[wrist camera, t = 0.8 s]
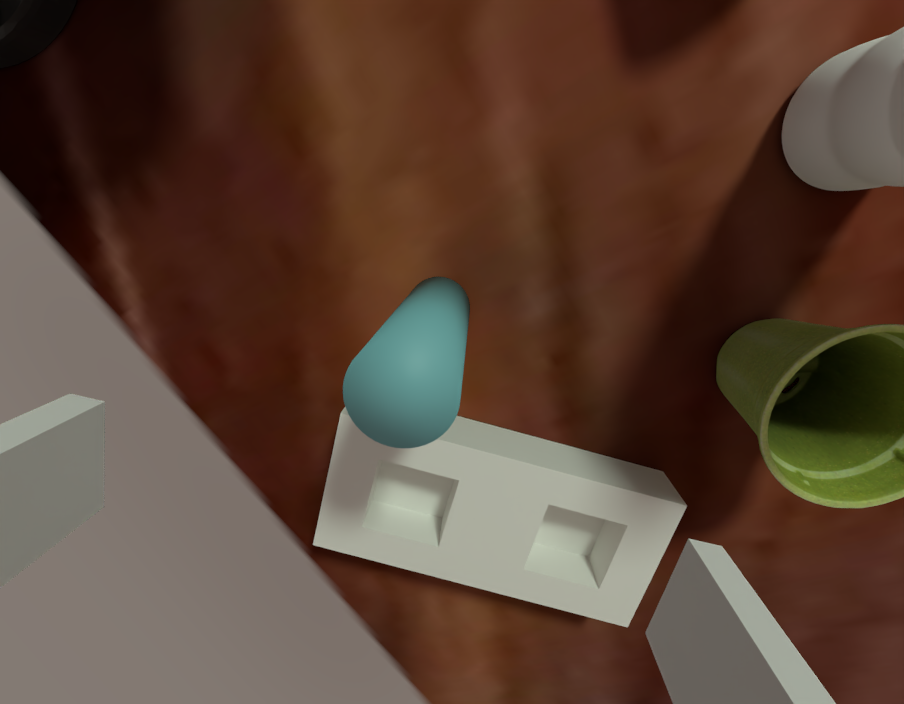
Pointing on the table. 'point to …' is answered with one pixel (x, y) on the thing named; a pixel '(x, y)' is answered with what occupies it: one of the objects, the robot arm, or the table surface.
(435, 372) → the teal pin
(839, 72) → the water bottle
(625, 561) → the hole block
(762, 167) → the table surface
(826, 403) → the plant pot
